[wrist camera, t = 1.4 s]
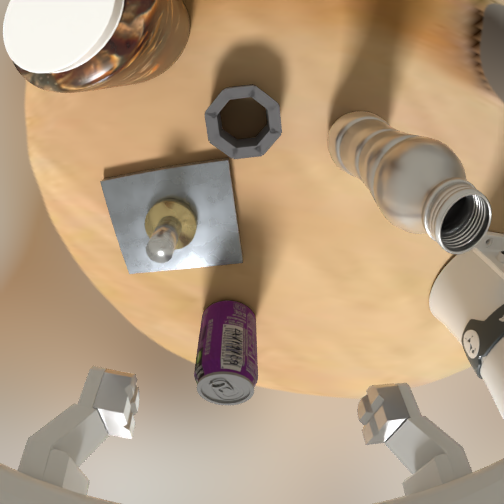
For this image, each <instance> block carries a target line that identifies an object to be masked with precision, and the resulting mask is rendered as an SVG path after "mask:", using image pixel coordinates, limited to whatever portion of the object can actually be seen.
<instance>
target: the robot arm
mask: <svg viewBox="0 0 504 504" xmlns="http://www.w3.org/2000/svg"><path fill="white" fill-rule="evenodd" d="M429 306H430V310H431V313H432V314H433V316H434V317H435V318H437V319H438V320H439V321H440V322H441V323H443V324H444V325H445V326H446V327H447V329H448V330H449V331H450V332H451V333H452V334H453V335H454V336H455V338H456V339H457V340H458V341H459V343H460V344H461V345H462V346H463V348H464V351H465V353H466V356H467V358H468V360H469V362H470V364H471V365H472V367H473V369H474V371H475V372H476V374H477V375H478V377H479V378H481V379H483V380H484V382H485V384H486V386H487V388H488V390H489V392H490V394H491V396H492V398H493V400H494V402H495V404H496V406H497V408H498V410H499V412H500V414H501V416H502V418H503V419H504V234H501V233H495V232H489V231H487V233H486V235H485V237H484V238H483V239H482V241H481V242H480V243H479V244H478V245H477V246H476V247H474V248H473V249H471V250H470V251H468V252H465V253H463V254H458V255H456V256H455V257H454V258H453V259H452V260H451V261H450V262H449V263H448V264H447V265H446V266H445V267H444V269H443V270H442V271H441V273H440V274H439V276H438V277H437V279H436V281H435V283H434V285H433V287H432V290H431V293H430V298H429ZM136 382H137V378H136V374H132V373H127V372H121V371H116V370H111V369H107V368H102V367H96V366H92V368H91V369H90V371H89V373H88V376H87V379H86V382H85V385H84V387H83V390H82V393H81V396H80V399H79V402H78V404H72V405H71V406H70V407H69V408H67V409H66V410H65V411H64V412H62V413H61V414H60V415H58V416H57V417H56V418H54V419H53V420H52V421H50V422H49V423H48V424H46V425H45V426H44V427H42V428H41V429H40V430H39V431H37V432H36V433H35V434H33V435H32V436H31V437H29V438H28V440H27V443H26V446H25V449H24V452H23V455H22V458H21V461H20V465H19V468H18V471H17V470H15V469H12V468H10V467H8V466H6V465H4V464H1V463H0V504H120V503H116V502H111V501H107V500H103V499H99V498H95V497H92V496H88V495H87V492H88V486H89V480H88V478H87V477H86V476H85V474H84V473H83V472H82V471H81V470H80V469H79V466H80V465H81V464H82V463H83V462H84V461H85V460H86V459H87V458H88V457H89V456H90V455H91V454H92V453H93V452H94V451H95V450H96V449H97V448H98V447H99V446H100V445H101V444H102V443H103V442H104V441H105V440H106V438H108V437H109V435H112V436H117V437H123V438H129V439H132V437H133V432H134V426H135V420H134V417H133V416H134V415H135V414H136V413H137V412H138V407H139V388H138V387H137V386H136ZM357 412H358V418H359V421H360V422H361V423H362V424H363V425H364V427H363V429H362V433H363V436H364V440H365V443H366V445H369V444H378V443H385V444H386V446H387V447H388V448H389V449H390V450H391V451H392V452H393V453H394V455H396V457H397V458H398V459H399V460H400V461H401V462H402V463H403V465H404V466H405V467H406V468H407V469H408V470H409V471H410V472H411V473H412V475H411V476H410V477H408V478H407V479H405V480H404V482H403V488H404V492H405V496H403V497H399V498H395V499H392V500H387V501H383V502H379V503H374V504H504V459H502V460H499V461H497V462H496V463H493V464H491V465H489V466H487V467H484V468H482V469H480V470H478V471H475V472H472V470H471V467H470V465H469V462H468V459H467V457H466V454H465V451H464V449H463V447H462V446H461V445H460V444H458V443H457V442H456V441H455V440H454V439H452V438H451V437H450V436H448V435H447V434H446V433H445V432H443V430H441V429H440V428H439V427H437V426H436V425H435V424H434V423H433V422H432V421H430V420H429V419H428V418H427V417H426V416H422V415H421V413H420V410H419V408H418V406H417V403H416V401H415V398H414V396H413V394H412V391H411V389H410V386H409V385H408V384H407V383H397V384H394V383H393V384H383V385H372V386H370V387H369V388H368V390H367V395H366V396H364V397H363V398H361V400H360V402H359V404H358V409H357Z"/></svg>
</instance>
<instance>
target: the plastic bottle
mask: <svg viewBox="0 0 504 504" xmlns="http://www.w3.org/2000/svg"><path fill="white" fill-rule="evenodd" d="M327 142H328V149H329V153H330V156H331V158H332V160H333V161H334V163H335V164H336V165H337V166H338V167H339V168H340V169H341V170H343V171H344V172H346V173H348V174H350V175H352V176H355V177H357V178H358V179H360V180H361V181H362V182H363V183H364V184H365V185H366V187H367V188H368V189H369V190H370V192H371V194H372V196H373V198H374V200H375V202H376V204H377V206H378V207H379V209H380V210H381V212H382V213H383V215H384V216H385V218H386V219H387V220H388V221H389V222H390V223H391V224H393V225H394V226H396V227H398V228H400V229H402V230H405V231H407V232H410V233H416V234H426V233H427V234H428V235H429V236H430V237H431V238H432V239H433V240H434V241H436V242H437V243H438V244H439V245H440V246H441V247H442V248H443V249H444V250H446V251H447V252H448V253H451V254H463V253H465V252H468V251H470V250H471V249H473V248H474V247H476V246H477V245H478V244H479V243H480V242H481V241H482V239H483V238H484V237H485V235H486V233H487V231H488V229H489V226H490V223H491V218H492V211H491V206H490V203H489V201H488V199H487V198H486V197H485V196H484V195H483V194H482V193H481V192H479V191H478V190H477V189H476V188H475V187H474V186H473V185H472V184H471V183H470V182H468V181H467V179H466V174H465V170H464V167H463V165H462V163H461V161H460V160H459V158H458V157H457V156H456V154H455V153H454V152H453V151H452V149H450V148H449V147H448V146H447V145H446V144H444V143H442V142H440V141H438V140H435V139H432V138H428V137H423V136H417V135H411V134H407V133H404V132H400V131H398V130H396V129H394V128H393V127H391V126H390V125H389V124H388V123H387V122H386V121H385V120H383V119H382V118H381V117H379V116H378V115H376V114H373V113H371V112H366V111H357V112H351V113H347V114H345V115H343V116H341V117H340V118H339V119H337V120H336V121H335V123H334V124H333V125H332V127H331V129H330V131H329V134H328V139H327Z"/></svg>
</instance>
